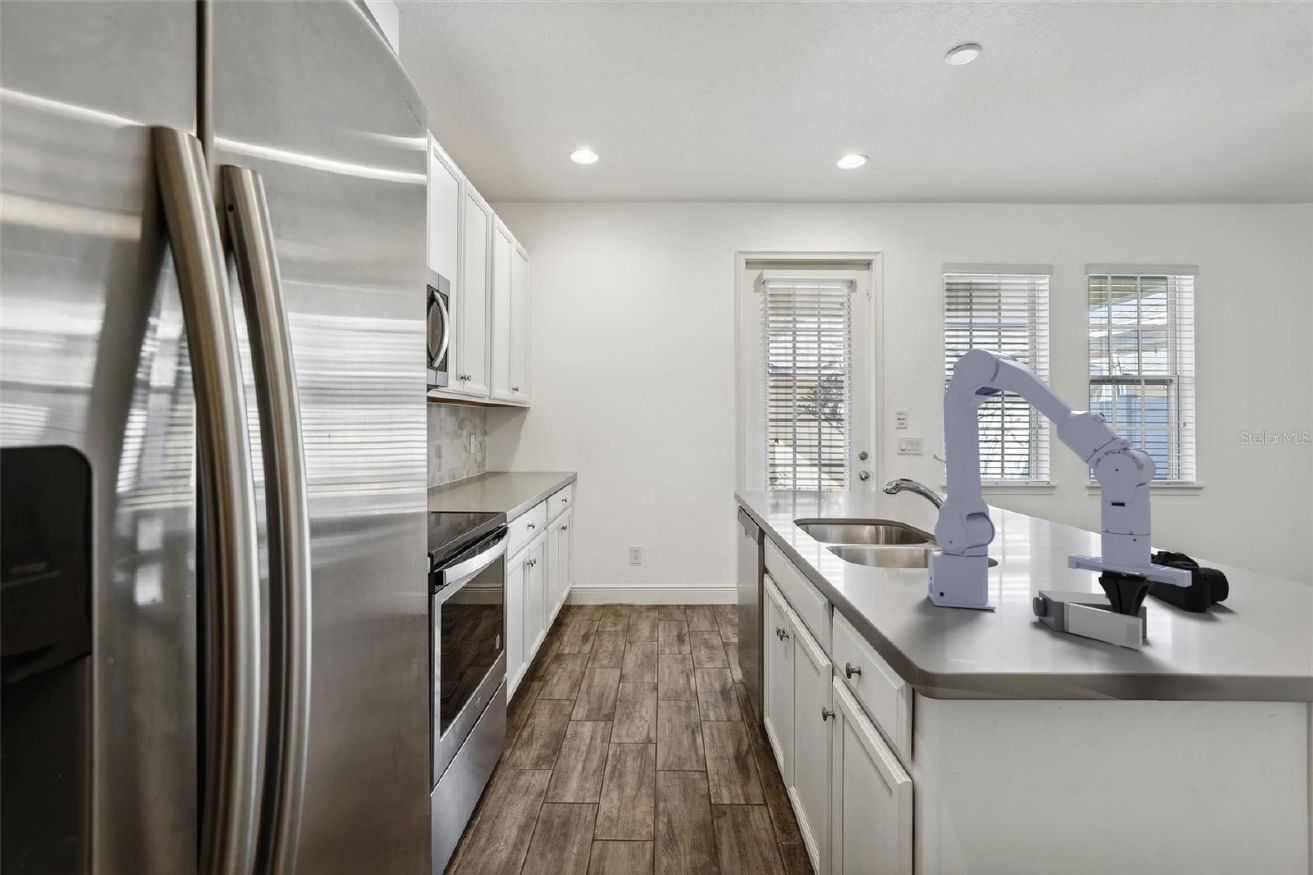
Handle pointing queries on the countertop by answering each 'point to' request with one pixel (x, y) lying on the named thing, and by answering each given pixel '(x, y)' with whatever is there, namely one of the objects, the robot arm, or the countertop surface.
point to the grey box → (1052, 603)
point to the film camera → (1196, 596)
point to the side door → (1103, 625)
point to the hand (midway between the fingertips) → (1126, 626)
